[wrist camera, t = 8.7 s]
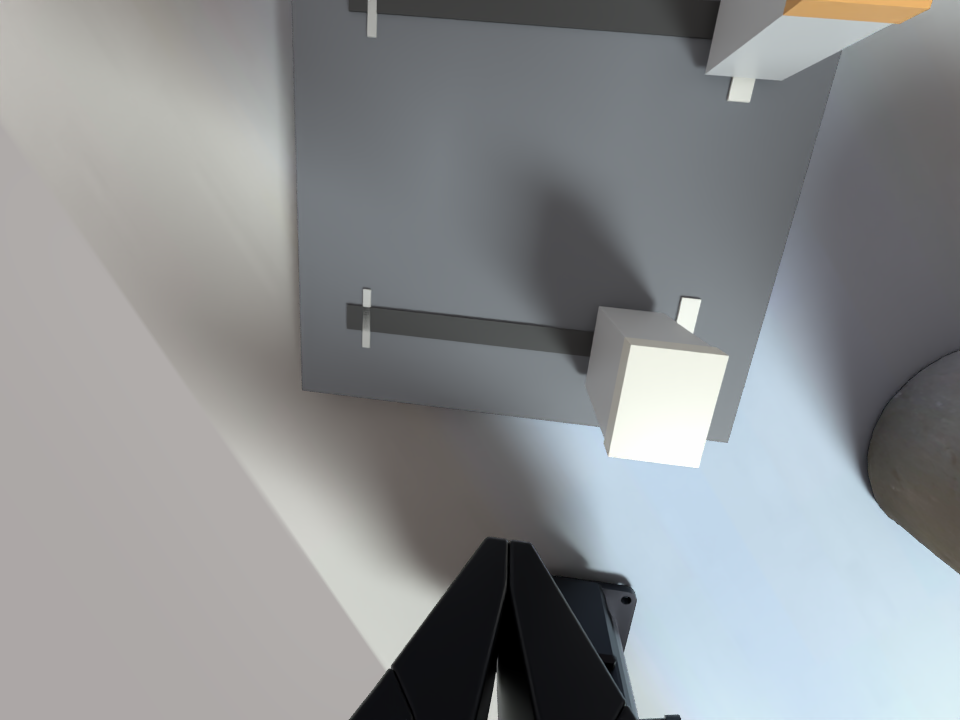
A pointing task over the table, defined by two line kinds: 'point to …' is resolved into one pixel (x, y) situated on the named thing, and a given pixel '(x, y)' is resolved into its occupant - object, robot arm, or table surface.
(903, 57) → the table surface
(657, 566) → the table surface
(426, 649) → the robot arm
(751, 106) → the console
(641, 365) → the fader
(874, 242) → the table surface
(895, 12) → the fader
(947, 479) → the pillar candle
